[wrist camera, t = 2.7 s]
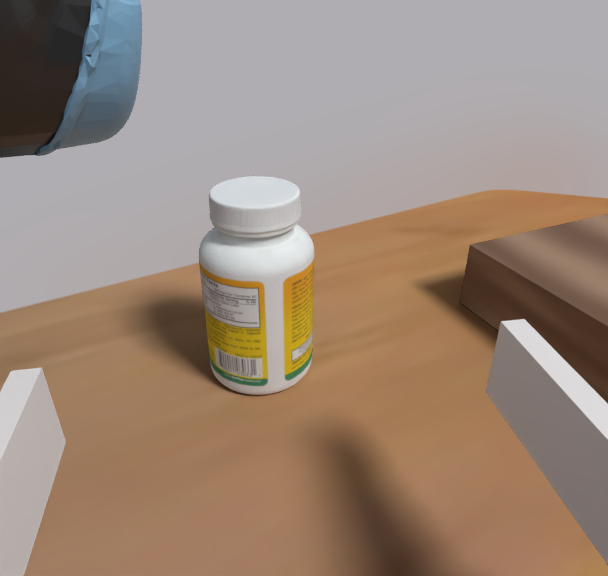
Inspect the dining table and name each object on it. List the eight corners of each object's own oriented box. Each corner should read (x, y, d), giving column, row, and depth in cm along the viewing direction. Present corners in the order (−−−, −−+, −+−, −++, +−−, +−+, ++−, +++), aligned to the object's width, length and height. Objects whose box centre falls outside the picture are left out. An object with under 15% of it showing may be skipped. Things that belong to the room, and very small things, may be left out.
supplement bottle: (222, 409, 24) (201, 220, 20) (203, 345, 29) (182, 178, 24) (328, 384, 26) (333, 203, 21) (294, 326, 30) (292, 166, 25)
